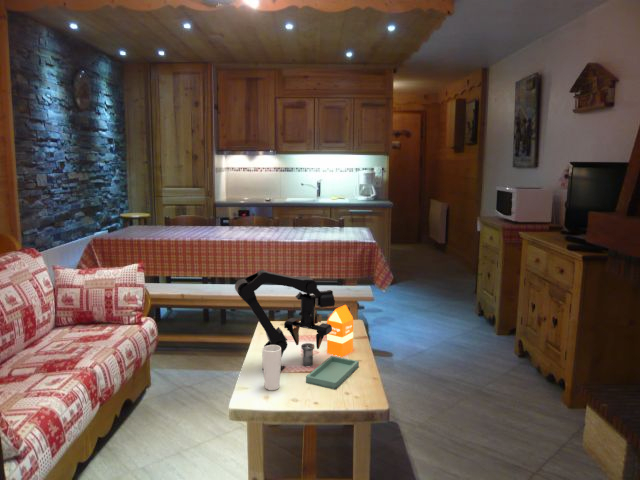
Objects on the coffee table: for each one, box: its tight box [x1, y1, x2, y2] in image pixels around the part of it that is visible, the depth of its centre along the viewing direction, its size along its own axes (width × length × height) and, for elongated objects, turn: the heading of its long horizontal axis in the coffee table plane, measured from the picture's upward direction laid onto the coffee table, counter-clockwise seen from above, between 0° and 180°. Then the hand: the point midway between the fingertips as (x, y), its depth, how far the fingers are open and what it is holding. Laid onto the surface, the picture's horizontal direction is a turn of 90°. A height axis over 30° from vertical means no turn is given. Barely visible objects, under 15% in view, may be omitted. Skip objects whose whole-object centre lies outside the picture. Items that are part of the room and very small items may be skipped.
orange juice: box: [326, 304, 354, 358], centre depth 217 cm, size 8×9×20 cm
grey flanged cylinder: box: [300, 342, 315, 367], centre depth 204 cm, size 5×5×8 cm
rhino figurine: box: [326, 312, 333, 321], centre depth 249 cm, size 4×14×6 cm, turn 12°
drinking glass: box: [261, 345, 282, 391], centre depth 184 cm, size 7×7×15 cm
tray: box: [305, 355, 360, 390], centre depth 196 cm, size 22×12×2 cm, turn 154°
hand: (307, 346), depth 204 cm, fingers open, 9 cm apart
